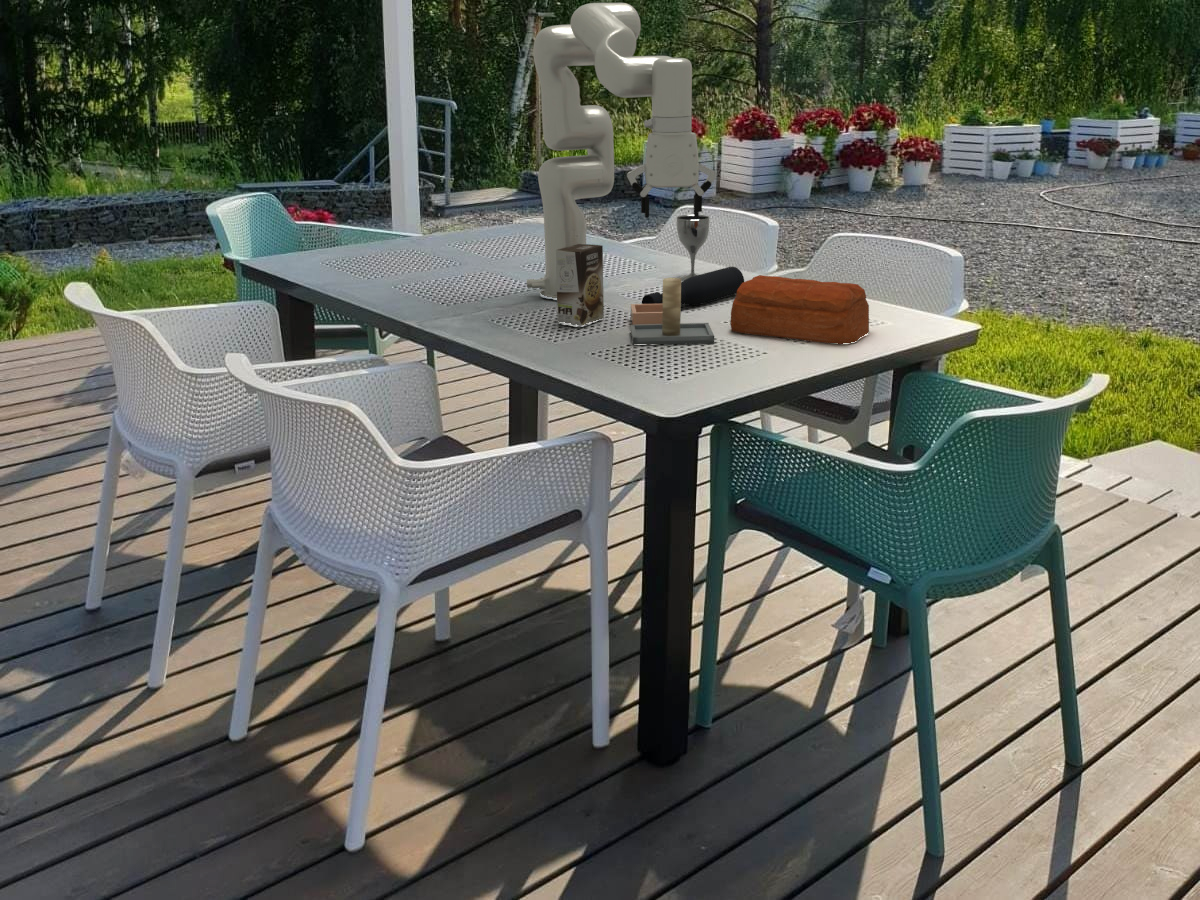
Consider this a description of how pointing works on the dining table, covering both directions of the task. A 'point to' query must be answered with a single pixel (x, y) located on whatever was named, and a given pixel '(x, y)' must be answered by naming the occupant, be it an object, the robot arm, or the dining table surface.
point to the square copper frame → (646, 313)
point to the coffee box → (580, 284)
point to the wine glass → (692, 236)
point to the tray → (688, 335)
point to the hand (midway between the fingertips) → (671, 216)
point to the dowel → (671, 306)
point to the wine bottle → (704, 287)
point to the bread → (801, 309)
